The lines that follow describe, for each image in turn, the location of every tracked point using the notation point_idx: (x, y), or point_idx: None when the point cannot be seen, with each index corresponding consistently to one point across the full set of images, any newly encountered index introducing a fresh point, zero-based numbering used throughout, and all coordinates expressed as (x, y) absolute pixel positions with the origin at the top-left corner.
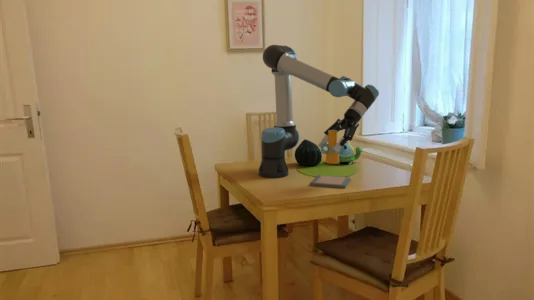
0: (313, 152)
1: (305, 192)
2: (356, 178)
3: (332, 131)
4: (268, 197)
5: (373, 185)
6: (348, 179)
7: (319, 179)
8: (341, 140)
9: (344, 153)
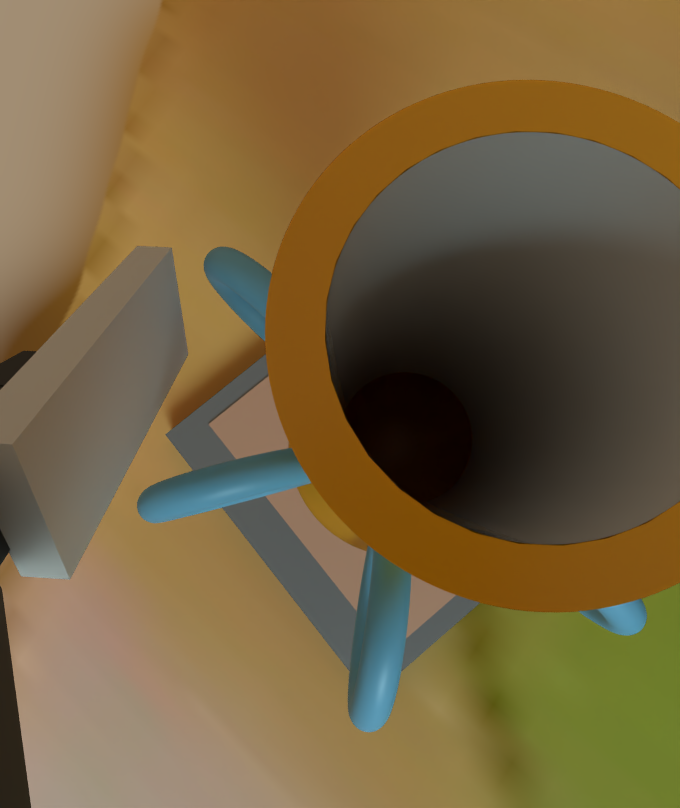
0: None
1: (261, 110)
2: (386, 788)
3: (338, 180)
4: None
5: (96, 723)
6: (319, 620)
7: None
8: (18, 405)
9: None
